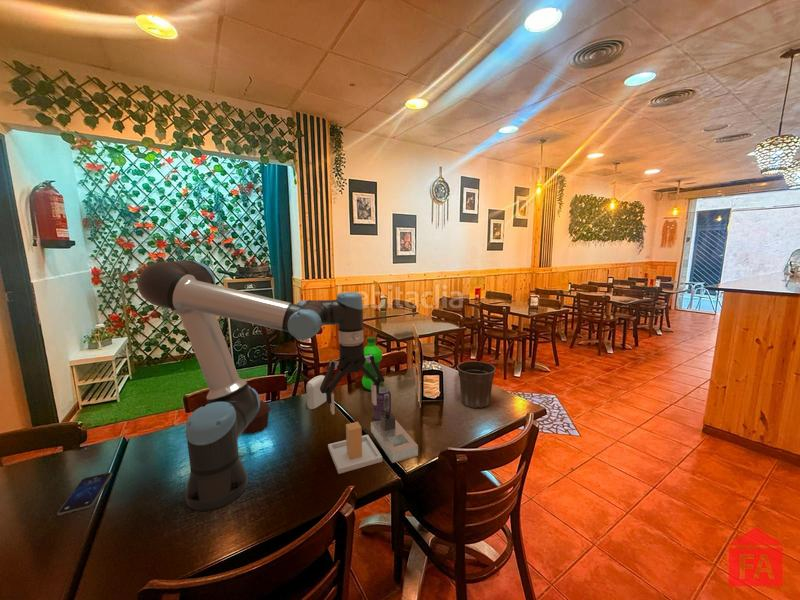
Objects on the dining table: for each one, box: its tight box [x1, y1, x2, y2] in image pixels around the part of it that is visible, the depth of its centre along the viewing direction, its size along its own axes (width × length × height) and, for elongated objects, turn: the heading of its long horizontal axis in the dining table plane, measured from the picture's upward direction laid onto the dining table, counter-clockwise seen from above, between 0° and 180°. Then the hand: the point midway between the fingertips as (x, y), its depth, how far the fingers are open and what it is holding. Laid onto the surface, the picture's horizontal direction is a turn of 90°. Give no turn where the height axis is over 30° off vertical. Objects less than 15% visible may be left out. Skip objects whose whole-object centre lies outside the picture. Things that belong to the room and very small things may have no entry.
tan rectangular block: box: [345, 421, 363, 460], centre depth 106 cm, size 4×4×10 cm
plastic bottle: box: [361, 336, 383, 391], centre depth 158 cm, size 10×10×25 cm
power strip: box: [370, 409, 419, 464], centre depth 113 cm, size 9×20×10 cm, turn 24°
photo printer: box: [305, 374, 327, 410], centre depth 142 cm, size 10×4×12 cm, turn 152°
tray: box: [327, 434, 383, 475], centre depth 107 cm, size 14×14×2 cm
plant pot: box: [456, 360, 497, 409], centre depth 143 cm, size 16×16×16 cm
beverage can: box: [372, 385, 392, 421], centre depth 130 cm, size 7×7×12 cm
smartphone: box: [56, 471, 113, 517], centre depth 91 cm, size 7×1×15 cm
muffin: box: [243, 399, 271, 434], centre depth 124 cm, size 12×11×10 cm
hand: (353, 407), depth 105 cm, fingers open, 13 cm apart
